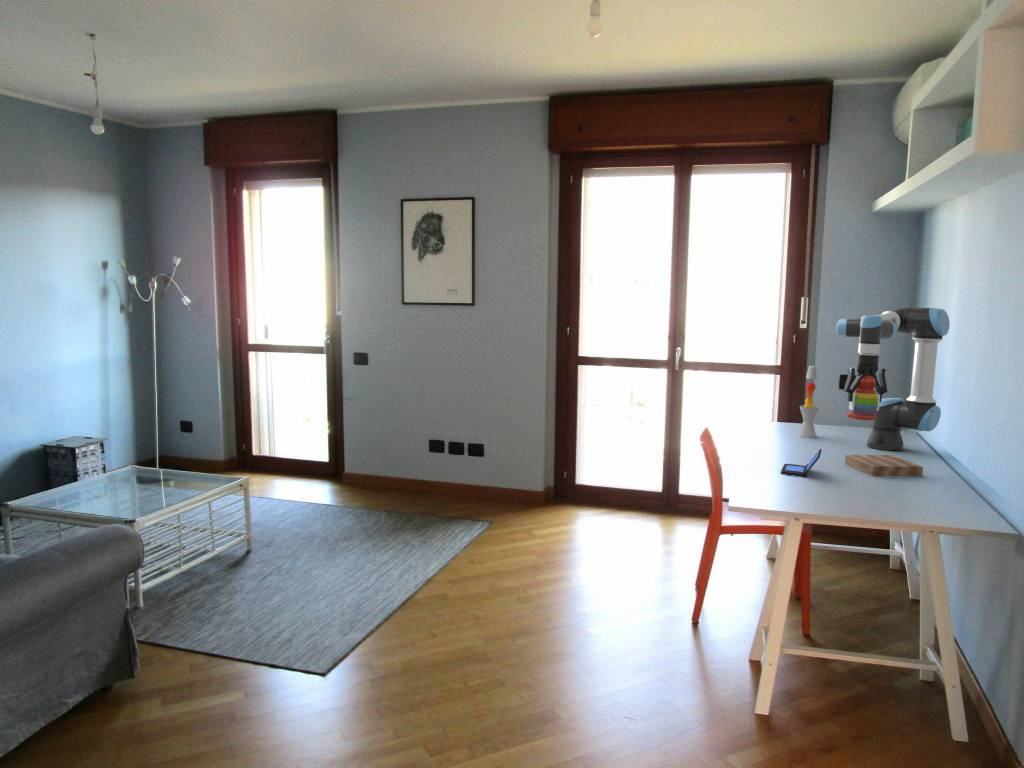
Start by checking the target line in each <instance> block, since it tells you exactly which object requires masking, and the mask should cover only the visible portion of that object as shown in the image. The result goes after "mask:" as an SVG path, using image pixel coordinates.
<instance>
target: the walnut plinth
mask: <svg viewBox="0 0 1024 768" xmlns="http://www.w3.org/2000/svg"><path fill="white" fill-rule="evenodd" d="M844 460H845V461H844V464H845V465H846V466H848V467H850V466H851V467H850V468H853V469H855V470H857V469H858V470H857V471H859V470H860V471H859V472H861V471H863V472H865V473H864V474H866V473H867V474H866V475H868V474H869V475H868V476H870V475H871V476H870V477H884V476H922V477H923V472H924V466H923V465H920V464H917V463H914V462H912V461H909V460H907V459H904V458H901V457H898V456H896V455H893V454H845V459H844ZM863 472H862V473H863Z"/></svg>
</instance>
